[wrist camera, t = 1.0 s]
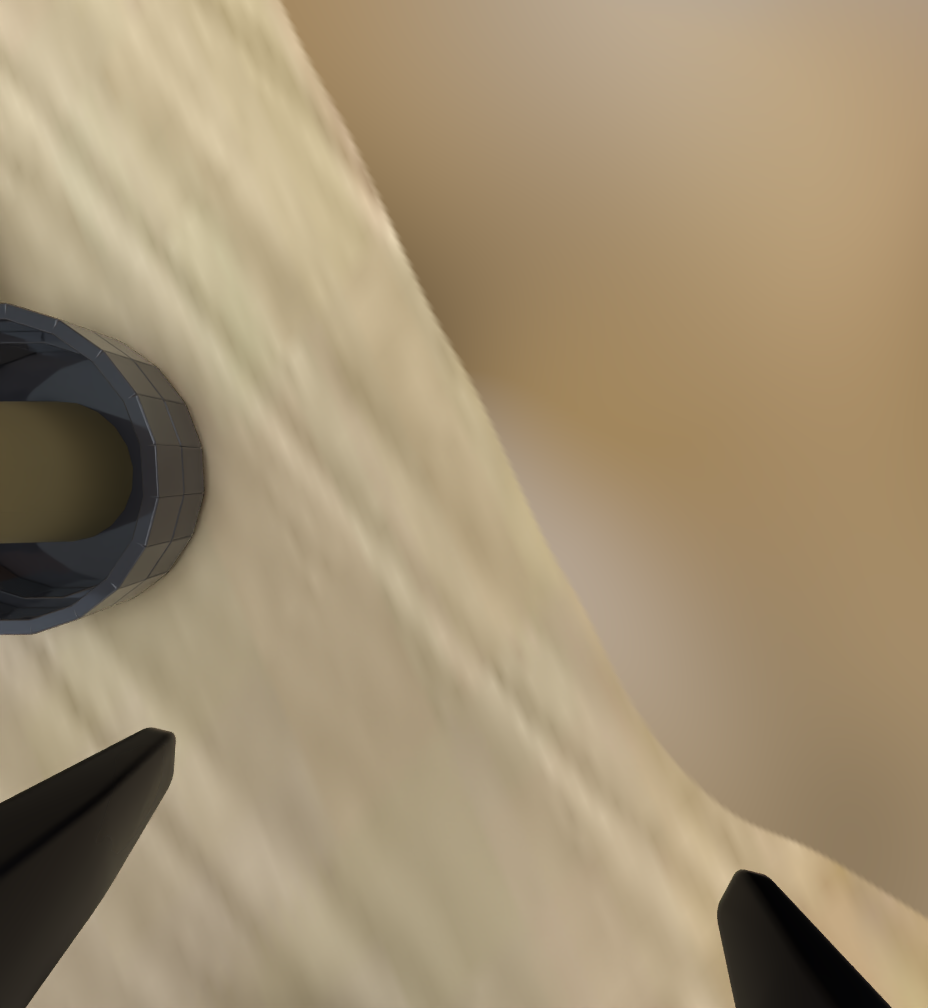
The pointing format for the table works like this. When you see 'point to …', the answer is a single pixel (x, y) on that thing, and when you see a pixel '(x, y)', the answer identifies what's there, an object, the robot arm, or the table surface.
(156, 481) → the pan
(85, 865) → the robot arm
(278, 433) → the table surface
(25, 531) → the cork
